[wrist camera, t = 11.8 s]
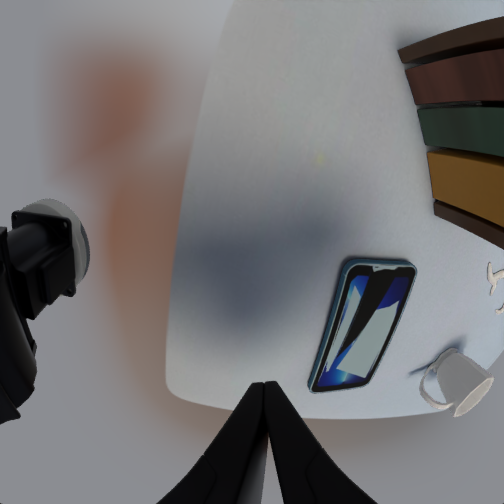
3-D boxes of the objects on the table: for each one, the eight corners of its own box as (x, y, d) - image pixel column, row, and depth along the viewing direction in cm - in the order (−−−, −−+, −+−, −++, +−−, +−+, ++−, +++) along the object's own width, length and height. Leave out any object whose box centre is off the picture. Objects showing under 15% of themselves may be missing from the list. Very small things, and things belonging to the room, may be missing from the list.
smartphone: (306, 394, 25) (347, 261, 19) (304, 387, 26) (343, 256, 20) (368, 386, 26) (420, 265, 20) (365, 380, 27) (414, 260, 21)
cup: (452, 370, 29) (479, 405, 22) (401, 390, 29) (426, 434, 21) (469, 333, 27) (502, 368, 19) (417, 353, 26) (451, 399, 19)
